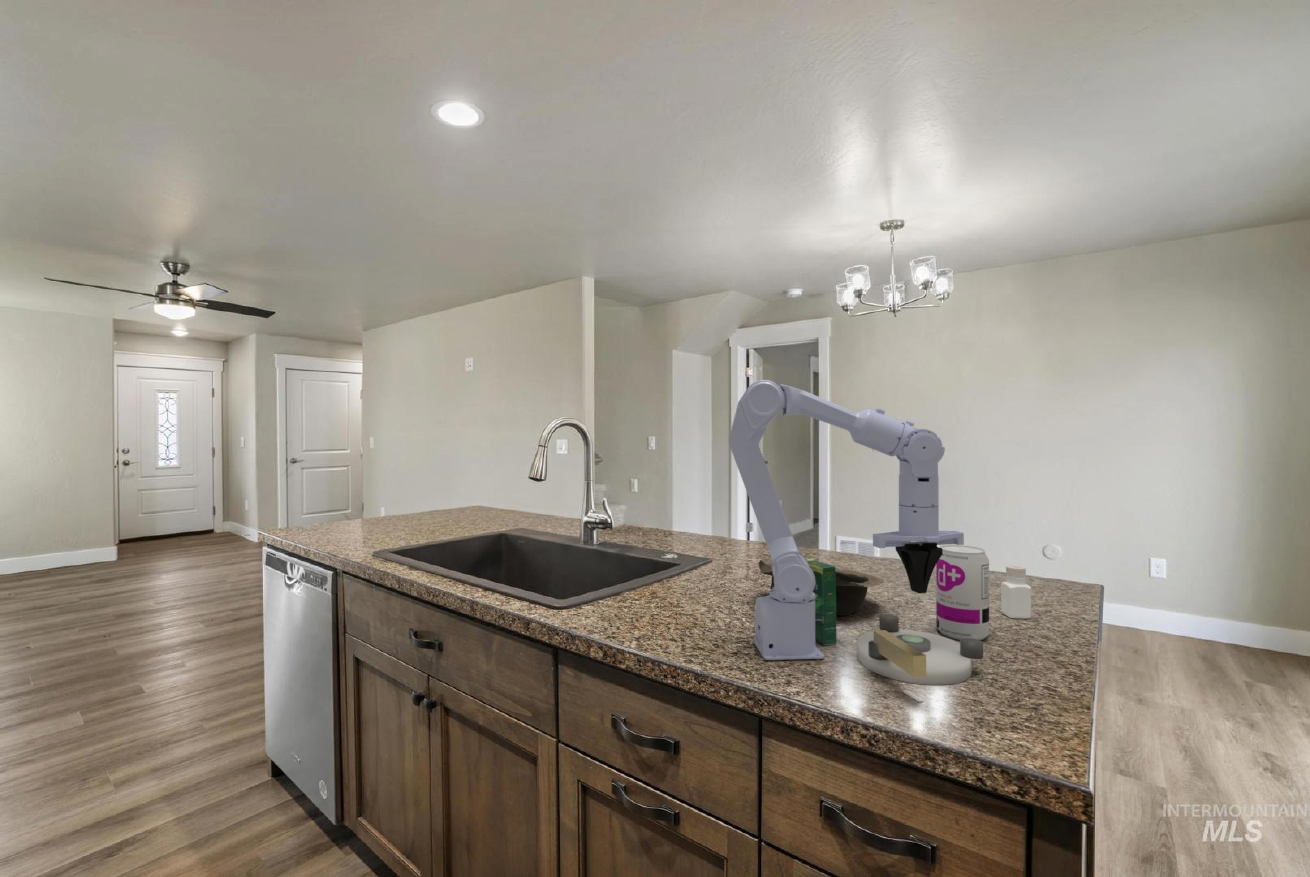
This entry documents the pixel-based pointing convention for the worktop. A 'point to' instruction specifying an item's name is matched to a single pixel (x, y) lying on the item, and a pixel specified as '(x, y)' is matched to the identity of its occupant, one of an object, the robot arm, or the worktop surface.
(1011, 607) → the salt shaker
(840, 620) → the worktop surface
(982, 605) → the supplement can
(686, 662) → the worktop surface
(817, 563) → the coffee box
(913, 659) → the lever
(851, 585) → the stone bowl
